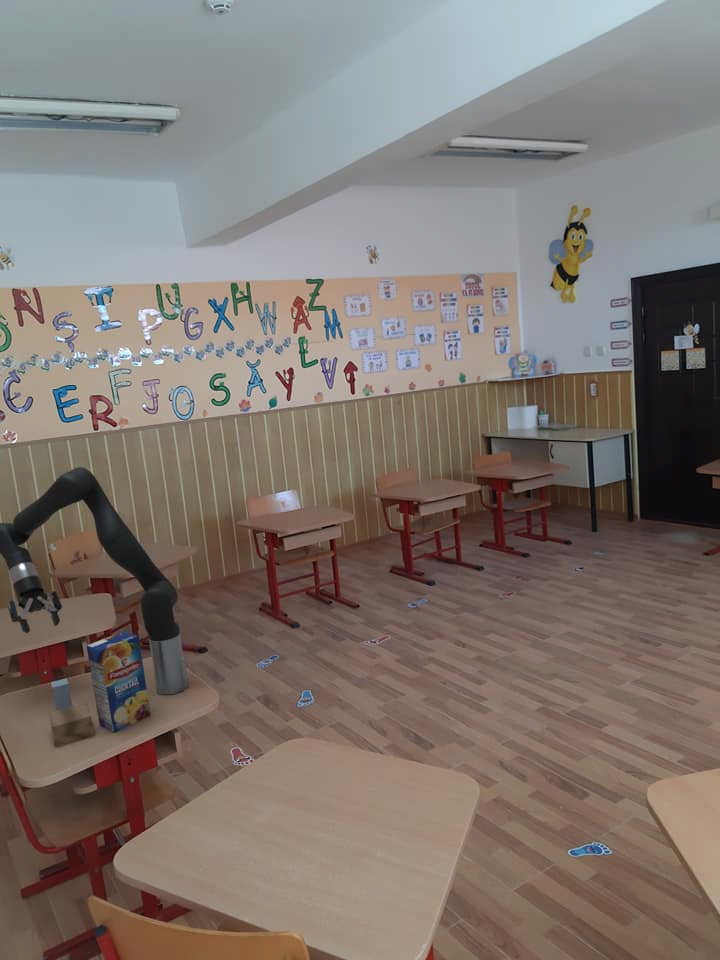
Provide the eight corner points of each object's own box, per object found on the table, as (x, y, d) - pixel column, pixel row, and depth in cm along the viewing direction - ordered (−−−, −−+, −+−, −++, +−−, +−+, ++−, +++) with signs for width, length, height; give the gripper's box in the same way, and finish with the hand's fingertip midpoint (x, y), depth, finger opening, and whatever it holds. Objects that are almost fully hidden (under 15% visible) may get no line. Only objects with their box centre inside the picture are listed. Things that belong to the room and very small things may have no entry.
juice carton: (136, 708, 219) (124, 631, 215) (150, 714, 214) (139, 635, 210) (99, 726, 210) (86, 645, 206) (113, 733, 205) (100, 650, 201)
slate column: (72, 709, 222) (67, 678, 220) (73, 715, 218) (68, 683, 216) (56, 713, 220) (51, 682, 218) (57, 719, 216) (52, 687, 214)
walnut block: (89, 721, 214) (86, 702, 212) (94, 736, 205) (91, 716, 204) (52, 732, 209) (48, 712, 208) (55, 747, 200) (52, 727, 199)
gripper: (4, 580, 219) (21, 629, 214) (52, 570, 229) (69, 617, 224) (-2, 591, 224) (15, 639, 219) (46, 581, 234) (62, 627, 229)
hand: (42, 628), depth 222 cm, fingers open, 8 cm apart
